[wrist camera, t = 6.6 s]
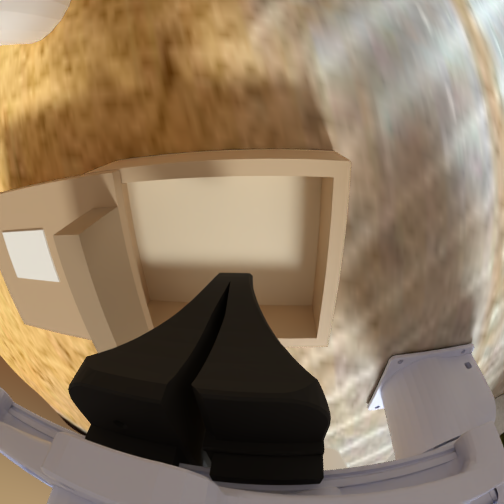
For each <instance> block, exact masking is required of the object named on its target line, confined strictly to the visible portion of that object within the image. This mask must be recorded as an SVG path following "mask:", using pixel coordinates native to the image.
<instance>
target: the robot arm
mask: <svg viewBox="0 0 504 504" xmlns="http://www.w3.org/2000/svg"><path fill="white" fill-rule="evenodd" d="M473 350H474V345H473V344H467V345H461V346H456V347H451V348H445V349H439V350H432V351H426V352H419V353H411V354H403V355H395V356H392V357H391V358H390V359H389V361H388V363H387V366H386V368H385V370H384V373H383V375H382V377H381V379H380V381H379V383H378V386H377V388H376V390H375V392H374V394H373V396H372V398H371V400H370V402H369V404H368V410H376V409H383V408H384V410H385V414H386V418H387V423H388V427H389V431H390V436H391V440H392V445H393V449H394V454H395V459H396V460H393V461H389V462H384V463H378V464H373V465H367V466H360V467H353V468H345V469H336V470H325V471H323V454H324V438H325V435H326V433H327V431H328V428H329V426H330V420H331V416H330V411H329V407H328V404H327V400H326V398H325V395H324V393H323V390H322V388H321V386H320V384H319V382H318V380H317V379H316V378H315V377H313V376H312V375H311V374H310V373H309V372H307V371H306V370H305V369H304V368H303V367H302V366H301V365H300V364H299V363H298V362H297V361H296V360H295V359H294V358H293V357H292V356H291V355H290V353H289V352H288V351H287V350H286V349H285V347H284V346H283V345H282V344H281V343H280V341H279V340H278V338H277V337H276V336H275V334H274V333H273V331H272V329H271V328H270V326H269V325H268V323H267V321H266V319H265V317H264V315H263V313H262V311H261V309H260V306H259V304H258V301H257V299H256V296H255V293H254V289H253V276H252V275H251V274H250V273H219V274H218V275H217V276H216V277H215V278H214V279H213V280H212V281H211V282H210V283H209V284H208V285H207V286H206V287H205V288H204V289H203V290H202V291H201V292H200V293H199V294H198V295H197V296H196V297H195V298H194V299H193V300H191V301H190V302H189V303H188V304H187V305H186V306H185V307H183V308H182V309H181V310H180V311H179V312H177V313H176V314H175V315H173V316H172V317H171V318H169V319H168V320H166V321H165V322H163V323H162V324H160V325H159V326H157V327H155V328H154V329H152V330H150V331H148V332H147V333H145V334H143V335H141V336H140V337H138V338H135V339H133V340H131V341H129V342H127V343H125V344H122V345H120V346H117V347H115V348H112V349H109V350H106V351H103V352H100V353H97V354H94V355H91V356H87V357H86V359H85V360H84V362H83V363H82V365H81V367H80V368H79V370H78V372H77V373H76V375H75V376H74V378H73V380H72V382H71V383H70V385H69V389H68V390H69V394H70V397H71V399H72V400H73V402H74V403H75V405H76V406H77V407H78V409H79V410H80V411H81V412H82V414H83V415H84V416H85V417H86V418H87V420H88V421H89V422H90V423H91V426H90V428H89V430H88V432H87V434H86V436H83V435H81V434H78V433H76V432H73V431H71V430H69V429H66V428H64V427H62V426H59V425H57V424H55V423H53V422H51V421H49V420H47V419H44V418H43V417H41V416H38V415H36V414H35V413H32V412H31V411H29V410H27V409H25V408H23V407H22V406H20V405H18V404H16V403H15V402H13V400H12V399H11V397H10V396H9V395H8V394H7V393H6V392H5V391H4V390H3V389H2V388H1V387H0V453H2V454H3V455H4V456H6V457H7V458H8V459H10V460H11V461H12V462H14V463H15V464H17V465H18V466H19V467H21V468H22V469H24V470H25V471H27V472H28V473H29V474H31V475H32V476H34V477H36V478H37V479H39V480H40V481H42V482H43V483H45V484H47V485H48V486H50V487H52V488H53V489H52V491H51V494H50V497H49V499H48V502H47V504H504V447H503V444H502V442H501V439H500V436H499V434H498V431H497V429H496V426H495V424H494V422H495V418H496V404H495V399H494V396H493V394H492V392H491V390H490V388H489V386H488V384H487V382H486V380H485V378H484V376H483V374H482V372H481V370H480V368H479V367H478V365H477V363H476V361H475V359H474V358H473V356H472V354H471V353H472V351H473Z"/></svg>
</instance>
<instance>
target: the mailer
mask: <svg viewBox="0 0 504 504" xmlns="http://www.w3.org/2000/svg"><path fill="white" fill-rule="evenodd" d="M112 170H119V171H120V178H121V185H122V192H123V198H124V204H125V210H126V216H127V221H128V226H129V231H130V236H131V241H132V246H133V250H134V255H135V259H136V264H137V268H138V272H139V276H140V280H141V284H142V288H143V292H144V295H145V299H146V303H147V306H148V310H149V313H150V317H151V320H152V323H153V327H154V328H155V327H157V326H159V325H160V324H162V323H163V322H165V321H166V320H168V319H169V318H171V317H172V316H173V315H175V314H176V313H177V312H179V311H180V310H181V309H182V308H183V307H185V306H186V305H187V304H188V303H189V302H190V301H191V300H193V299H194V298H195V297H196V296H197V295H198V294H199V293H200V292H201V291H202V290H203V289H204V288H205V287H206V286H207V285H208V284H209V283H210V282H211V281H212V280H213V279H214V278H215V277H216V276H217V275H218V274H219V273H250V274H251V275H252V276H253V289H254V293H255V296H256V299H257V301H258V304H259V306H260V309H261V311H262V313H263V315H264V317H265V319H266V321H267V323H268V325H269V326H270V328H271V329H272V331H273V333H274V334H275V336H276V337H277V338H278V340H279V341H280V343H281V344H282V345H283V346H284V347H328V342H329V337H330V332H331V327H332V321H333V316H334V310H335V304H336V298H337V292H338V286H339V279H340V272H341V265H342V258H343V250H344V242H345V233H346V223H347V213H348V202H349V189H350V175H351V161H350V160H348V159H347V158H345V157H343V156H342V155H340V154H338V153H337V152H335V151H330V150H306V149H238V150H215V151H198V152H185V153H173V154H163V155H153V156H145V157H137V158H129V159H122V160H117V161H115V162H112V163H109V164H107V165H104V166H102V167H99V168H97V169H94V170H92V171H89V172H87V173H84V175H85V174H91V173H98V172H105V171H112Z"/></svg>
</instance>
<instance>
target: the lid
mask: <svg viewBox="0 0 504 504" xmlns="http://www.w3.org/2000/svg"><path fill="white" fill-rule="evenodd" d="M0 271H1V273H2V276H3V278H4V281H5V283H6V286H7V288H8V290H9V293H10V295H11V297H12V299H13V301H14V304H15V306H16V308H17V310H18V312H19V314H20V316H21V318H22V320H23V322H24V324H26V325H30V326H34V327H37V328H41V329H45V330H49V331H53V332H57V333H61V334H65V335H70V336H74V337H79V338H84V339H88V340H92V341H93V344H94V346H95V348H96V350H97V352H98V353H100V352H103V351H106V350H109V349H112V348H115V347H117V346H120V345H122V344H125V343H127V342H129V341H131V340H133V339H135V338H138V337H140V336H141V335H143V334H145V333H147V332H148V331H150V330H152V329H154V327H153V323H152V320H151V317H150V313H149V310H148V306H147V303H146V299H145V295H144V292H143V288H142V284H141V280H140V276H139V272H138V268H137V264H136V259H135V255H134V250H133V246H132V241H131V236H130V231H129V226H128V221H127V216H126V210H125V204H124V198H123V192H122V185H121V178H120V171H119V170H112V171H105V172H98V173H91V174H85V175H79V176H73V177H68V178H62V179H57V180H52V181H47V182H42V183H38V184H33V185H29V186H24V187H20V188H16V189H12V190H8V191H4V192H0Z"/></svg>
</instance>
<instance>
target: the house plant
mask: <svg viewBox="0 0 504 504" xmlns="http://www.w3.org/2000/svg"><path fill="white" fill-rule="evenodd" d="M495 404H496V418H495V422H494V424H495V426H496V429H497V431H498V434H499V436H500V439H501V442H502V444H503V447H504V394H503V395H501V396H499V397H497V398H496V399H495Z"/></svg>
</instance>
